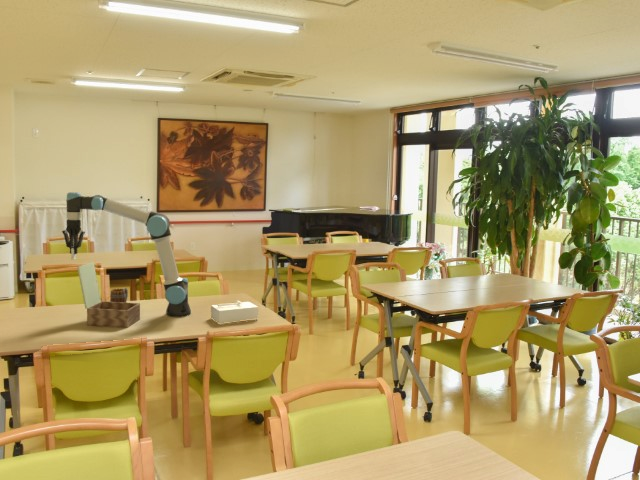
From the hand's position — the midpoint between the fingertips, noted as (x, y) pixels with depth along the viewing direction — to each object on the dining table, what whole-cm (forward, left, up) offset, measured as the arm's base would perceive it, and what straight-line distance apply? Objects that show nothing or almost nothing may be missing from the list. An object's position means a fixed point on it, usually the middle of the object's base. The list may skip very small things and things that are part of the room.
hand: (73, 259), depth 342 cm
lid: (-10, 0, -15) cm, 18 cm away
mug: (-18, -22, -37) cm, 47 cm away
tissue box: (-91, -21, -37) cm, 100 cm away
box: (-24, 0, -37) cm, 44 cm away
